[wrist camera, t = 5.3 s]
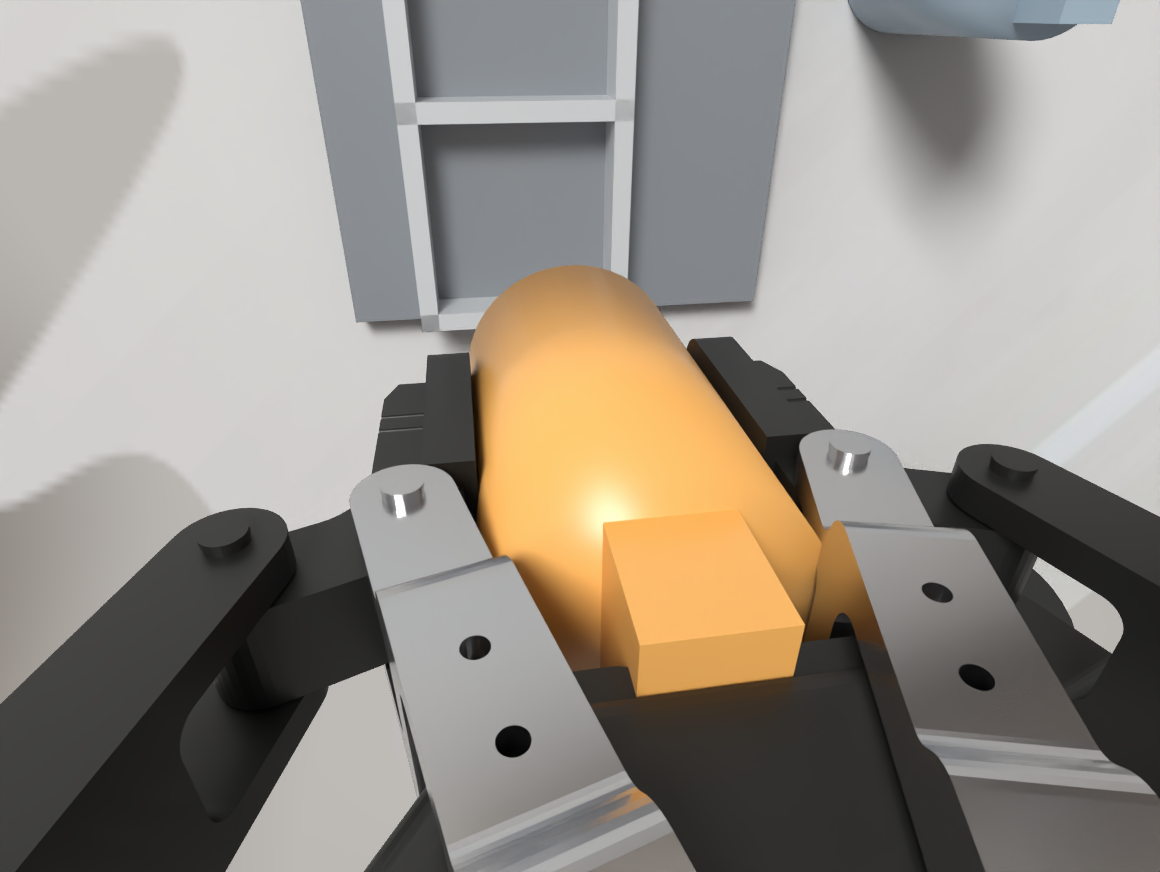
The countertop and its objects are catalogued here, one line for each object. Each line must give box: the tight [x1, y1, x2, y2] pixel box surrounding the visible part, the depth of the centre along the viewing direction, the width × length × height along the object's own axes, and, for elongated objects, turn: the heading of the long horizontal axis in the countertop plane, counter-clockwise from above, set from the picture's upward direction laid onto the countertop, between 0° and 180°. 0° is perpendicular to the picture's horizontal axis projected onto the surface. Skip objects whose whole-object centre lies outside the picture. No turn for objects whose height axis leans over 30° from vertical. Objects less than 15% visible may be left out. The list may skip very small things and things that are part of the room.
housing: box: [300, 0, 795, 332], centre depth 22 cm, size 15×14×2 cm
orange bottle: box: [469, 265, 822, 698], centre depth 10 cm, size 4×4×9 cm
